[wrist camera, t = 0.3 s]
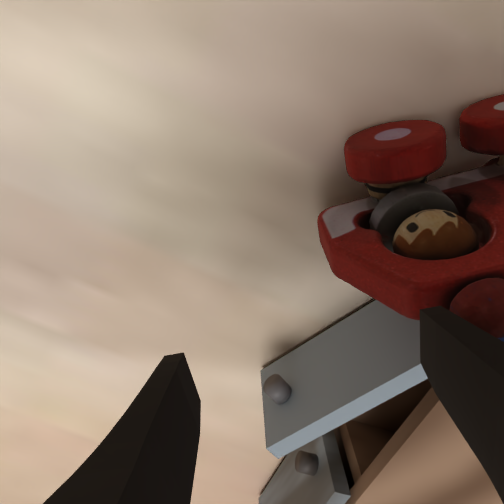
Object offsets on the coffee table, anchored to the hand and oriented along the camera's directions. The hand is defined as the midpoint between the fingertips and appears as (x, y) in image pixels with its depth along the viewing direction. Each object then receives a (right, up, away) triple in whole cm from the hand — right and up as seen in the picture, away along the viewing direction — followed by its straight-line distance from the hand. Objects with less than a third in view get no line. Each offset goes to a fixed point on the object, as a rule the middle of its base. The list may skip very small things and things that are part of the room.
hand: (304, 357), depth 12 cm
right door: (+3, -1, +11) cm, 12 cm away
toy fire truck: (+7, +7, +8) cm, 13 cm away
